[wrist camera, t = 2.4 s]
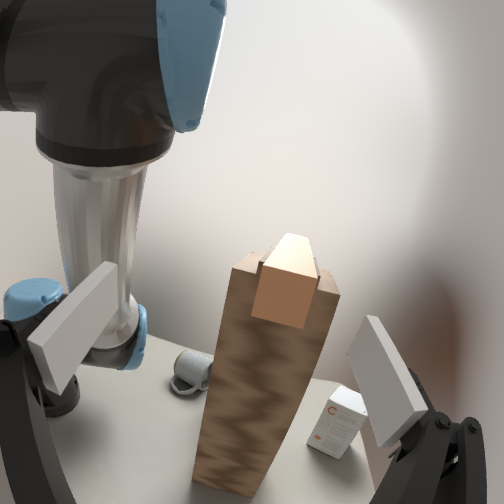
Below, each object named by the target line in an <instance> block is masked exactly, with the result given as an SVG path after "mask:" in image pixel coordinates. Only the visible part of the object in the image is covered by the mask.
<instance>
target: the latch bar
mask: <svg viewBox="0 0 504 504" xmlns="http://www.w3.org/2000/svg"><path fill="white" fill-rule="evenodd" d="M317 280H318V277H317V273H316V269H315V264H314V260H313V256H312V252H311V248H310V244H309V241H308V238H306V237H303V236H299V235H294V234H290V233H286V235H285V236H284V237H283V239H282V240H281V241H280V243H279V244H278V245H277V247H276V248H275V249H274V251H273V252H272V253H271V255H270V256H269V257H268V259H267V260H266V261H265V263H264V264H263V267H262V271H261V275H260V279H259V284H258V288H257V292H256V296H255V300H254V305H253V309H252V313H251V316H253V317H257V318H261V319H265V320H268V321H272V322H276V323H280V324H284V325H288V326H292V327H296V328H300V329H303V327H304V324H305V320H306V317H307V314H308V311H309V307H310V304H311V301H312V297H313V294H314V290H315V287H316V283H317Z"/></svg>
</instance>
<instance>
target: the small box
mask: <svg viewBox="0 0 504 504" xmlns="http://www.w3.org/2000/svg"><path fill="white" fill-rule="evenodd" d="M367 416H368V414H367V411H366V407H365V404H364V401H363V399H362V396H361V394H359V393H357V392H355V391H352V390H350V389H348V388H346V387H343V386H341V385H340V386H339V387H338V389H337V390H336V391H335V392H334V393H333V394H332V395H331V397H330V398H329V399H328V401H327V403H326V406H325V408H324V410H323V412H322V414H321V416H320V418H319V420H318V422H317V424H316V426H315V427H314V429H313V431H312V433H311V435H310V437H309V439H308V441H307V443H306V444H308V445H310V446H312V447H314V448H316V449H318V450H320V451H322V452H324V453H326V454H328V455H330V456H332V457H334V458H336V459H338V460H339V459H340V458H341V456H342V455H343V454H344V452H345V451H346V449H347V448H348V447H349V445H350V444H351V442H352V440H353V439H354V437H355V436H356V434H357V433H358V431H359V429H360V427H361V426H362V424H363V423H364V421H365V419H366V418H367Z"/></svg>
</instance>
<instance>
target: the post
mask: <svg viewBox="0 0 504 504" xmlns="http://www.w3.org/2000/svg"><path fill="white" fill-rule="evenodd" d="M274 249H275V248H273V247H271V248H270V249H269V250H268V251H267V252H266V253H265V255H262V254H258V253H254V252H251V253H250V254H249V255H248V256H246V257H245V258H244V259H242V260H241V261H240V262H239V263H238V264H236V265H235V266H234V267H232V271H231V276H230V281H229V286H228V291H227V296H226V300H225V305H224V311H223V315H222V320H221V325H220V330H219V335H218V340H217V345H216V350H215V355H214V361H213V366H212V371H211V376H210V381H209V387H208V392H207V397H206V403H205V408H204V413H203V419H202V424H201V430H200V435H199V441H198V446H197V452H196V458H195V464H194V469H193V475H192V481H195V482H198V483H201V484H204V485H207V486H210V487H214V488H217V489H220V490H224V491H228V492H231V493H235V494H239V495H243V496H248V497H252V498H253V496H254V494H255V493H256V491H257V489H258V487H259V486H260V484H261V482H262V480H263V479H264V477H265V475H266V473H267V471H268V469H269V467H270V466H271V464H272V462H273V460H274V458H275V456H276V454H277V452H278V450H279V448H280V446H281V444H282V442H283V440H284V438H285V436H286V434H287V432H288V430H289V427H290V425H291V423H292V421H293V419H294V417H295V414H296V412H297V410H298V408H299V405H300V403H301V401H302V398H303V396H304V394H305V391H306V389H307V387H308V384H309V382H310V379H311V376H312V374H313V372H314V369H315V367H316V364H317V361H318V359H319V356H320V353H321V351H322V348H323V345H324V343H325V339H326V337H327V334H328V331H329V328H330V325H331V322H332V320H333V317H334V314H335V310H336V307H337V304H338V301H339V298H340V293H339V290H338V288H337V286H336V284H335V282H334V279H333V277H332V275H331V273H330V271H326V270H321V269H319V268H318V265H317V262H316V258H313V260H314V264H315V269H316V273H317V277H318V280H317V283H316V287H315V290H314V294H313V297H312V301H311V304H310V307H309V311H308V314H307V317H306V320H305V324H304V327H303V329H300V328H296V327H292V326H288V325H284V324H280V323H276V322H272V321H268V320H265V319H261V318H257V317H253V316H251V313H252V309H253V305H254V300H255V296H256V292H257V288H258V284H259V279H260V275H261V271H262V267H263V264H264V263H265V261H266V260H267V259H268V257H269V256H270V255H271V253H272V252H273V251H274Z"/></svg>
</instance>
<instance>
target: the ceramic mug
mask: <svg viewBox="0 0 504 504" xmlns="http://www.w3.org/2000/svg"><path fill="white" fill-rule="evenodd" d="M213 361H214V360H213V359H210V358H208V357H205V356H202V355H200V354H197V353H195V352H192V351H183V352H182V353H181V354H180V355H179V356H178V357H177V359H176V361H175V363H174V373H175V375H174V376H173V378H172V380H171V385H172V388H173V390H174V391H175V392H176V393H178V394H180V395H190V394H192V393H193V392H194V391H196V390H197V389H199V390H201V391H205V390H206V389H208V387H209V381H210V376H211V371H212V366H213ZM177 378H180V379H181V380H183V381H185V382H187V383H189V384H190V385H192V386H194V387H192V388H191V389H189V390H187V391H179V390H178V389H177V387H175V386H174V383H175V380H176V379H177Z"/></svg>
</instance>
